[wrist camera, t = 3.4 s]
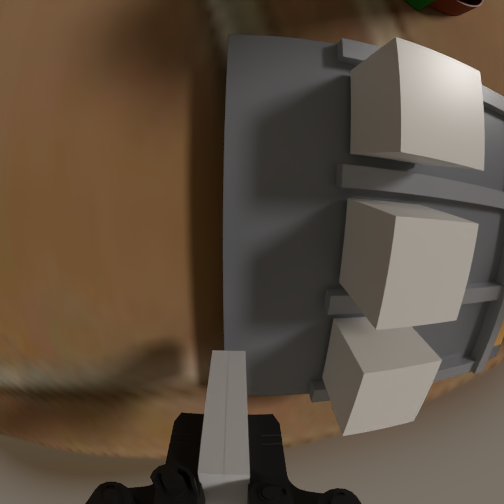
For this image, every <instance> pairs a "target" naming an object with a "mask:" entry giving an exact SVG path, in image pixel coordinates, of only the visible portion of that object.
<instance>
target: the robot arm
mask: <svg viewBox="0 0 504 504" xmlns="http://www.w3.org/2000/svg"><path fill="white" fill-rule="evenodd" d="M150 478H151V479H152V482H153V484H152V485H150V486H145V487H134V488H127V487H126V486H124V485H123V484H121V483H117V482H106V483H103V484H100V485H99V486H98V487H97V488H96V489H95V491H94V492H93V494H92V495H91V497H90V498H89V499H88V501H87V502H86V504H361V502H360V501H359V499H358V498H357V497H356V495H354V494H353V493H352V492H351V491H348V490H346V489H339V488H336V489H332V490H329V491H327V492H325V493H315V492H308V491H304V490H300V489H298V488H296V487H295V486H294V485H293V484H291V482H290V481H289V479H288V476H287V472H286V465H285V458H284V451H283V445H282V437H281V430H280V424H279V422H278V421H277V419H276V418H275V417H274V415H273V414H265V415H248V412H247V383H246V352H245V351H220V350H212V357H211V364H210V372H209V380H208V387H207V395H206V404H205V412H204V414H192V413H181V414H180V415H179V416H178V418H177V419H176V420H175V421H174V425H173V430H172V435H171V440H170V444H169V449H168V454H167V459H166V464H164V465H161V466H159V467H158V468H156V469H155V470H154V471H153V472H152V474H151V476H150Z"/></svg>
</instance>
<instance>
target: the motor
mask: <svg viewBox="0 0 504 504" xmlns="http://www.w3.org/2000/svg"><path fill="white" fill-rule="evenodd" d="M405 1H406V2H408V3H409V4H410V5H411V6H413V7H414V8H415V9H417V10H418V11H420V10H421V9H423V8H424V7H426V6H427V5H428V6H430V7H432V8H434V9H435V10H437V11H439V12H442V13H444V14H448V15H452V16H458V15H461V14H463V13H466V12H468V11H470V10H472V9H474V8H476V7H479V6H481V5H482V4H483V2H484V0H405Z"/></svg>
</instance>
